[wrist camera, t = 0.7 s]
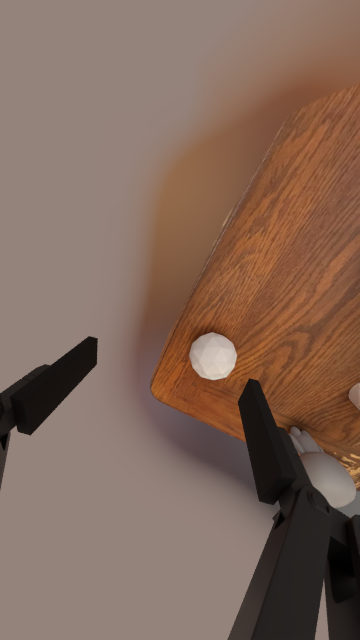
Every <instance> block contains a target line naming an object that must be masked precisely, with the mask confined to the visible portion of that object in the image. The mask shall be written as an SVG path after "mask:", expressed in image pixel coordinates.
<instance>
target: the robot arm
mask: <svg viewBox="0 0 360 640" xmlns="http://www.w3.org/2000/svg"><path fill="white" fill-rule="evenodd" d="M97 340H98V339H97V338H94V337H90V336H89V337H87V338H86V339H85V340H84V341H82V342H81V343H80V344H78V345H77V346H76V347H74V348H73V349H72V350H70V351H69V352H68V353H66V354H65V355H64V356H62V357H61V358H60V359H58V360H57V361H56V362H55V363H53V364H52V365H51V366H50V365H46V364H45V365H42V366H40V367H37V368H36V369H34V370H33V371H31V372H30V373H28V375H26V376H24V377H23V378H22V379H20V380H18V381H17V382H16V383H14V384H13V385H11V386H10V387H9V388H7V389H6V390H5V391H3V392H2V393H0V489H1V483H2V478H3V472H4V467H5V462H6V456H7V450H8V446H9V440H10V430H11V429H13V428H14V427H15V426H17V430H18V432H20V433H24V434H28V435H31V434H32V433H33V432H34V431H35V430H36V429H37V428H38V427H39V426H40V425H41V424H42V423H43V421H44V420H45V419H46V418H47V417H48V416H49V415H50V414H51V413H52V412H53V411H54V410H55V408H57V406H58V405H59V404H60V403H61V402H62V401H63V400H64V399H65V398H66V397H67V396H68V395H69V393H70V392H71V391H72V390H73V389H74V388H75V387H76V386H77V385H78V384H79V383H80V382H81V381H82V380H83V378H84V377H85V376H86V375H87V374H88V373H89V372H90V371H91V370H92V369H93V368H94V367H95V366H96V364H97ZM238 405H239V410H240V415H241V419H242V424H243V429H244V433H245V438H246V442H247V447H248V451H249V456H250V461H251V466H252V470H253V475H254V480H255V484H256V489H257V494H258V498H259V501H261V502H264V503H267V504H271V505H274V504H275V503H276V501H277V500H278V501H279V504H280V508H281V509H280V510H279V511H278V513H277V514H276V515H275V516H274V517H273V520H274V521H275V522H274V524H273V527H272V529H271V532H270V534H269V537H268V539H267V542H266V544H265V547H264V549H263V552H262V554H261V557H260V559H259V562H258V565H257V567H256V569H255V572H254V574H253V577H252V580H251V582H250V585H249V587H248V590H247V592H246V595H245V597H244V600H243V602H242V605H241V607H240V610H239V612H238V615H237V617H236V620H235V622H234V625H233V627H232V630H231V633H230V635H229V637H228V640H315V632H316V626H317V620H318V613H319V607H320V600H321V593H322V587H323V580H324V582H325V595H326V607H327V620H328V632H329V640H360V515H354V516H353V517H352V518H349V517H348V516H346V515H345V514H343V513H341V512H340V511H338V510H337V509H335V508H333V507H332V506H331V505H330V504H329V502H328V501H327V499H326V498H325V496H324V495H323V494H322V493H321V492H320V491H319V490H318V489H316V488H315V487H313V485H312V483H311V480H310V478H309V476H308V474H307V472H306V470H305V467H304V465H303V463H302V461H301V459H300V456H299V455H298V452H297V450H296V448H295V445H294V443H293V441H292V439H291V437H290V435H289V434H288V433H287V432H286V430H285V429H284V428H280V427H277V425H276V423H275V420H274V418H273V415H272V413H271V410H270V408H269V406H268V403H267V401H266V398H265V396H264V393H263V391H262V388H261V386H260V383H259V381H257V380H254V379H250V378H249V380H248V382H247V384H246V386H245V388H244V390H243V392H242V394H241V397H240V399H239V401H238Z"/></svg>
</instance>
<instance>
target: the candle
mask: <svg viewBox="0 0 360 640" xmlns="http://www.w3.org/2000/svg"><path fill="white" fill-rule="evenodd" d="M348 396H349V399H350V400H351V402H352V403H353V404H354V405H355V406H356V407H357V408H358V409H359V410H360V382H359V383H357V384H356V385H354V386H353V387H352V388H351V389H350V391H349V395H348Z"/></svg>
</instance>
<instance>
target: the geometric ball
mask: <svg viewBox="0 0 360 640" xmlns="http://www.w3.org/2000/svg"><path fill="white" fill-rule="evenodd" d="M189 357H190V360H191V363H192V366H193V368H194V370H195V371H196V372H197V373H198V374H199V375H200V376H201V377H203V378H207V379H211V380H217V379H221V378H226V377H227V376H228V374H229V373H230V372H231V371H232V370H233V369H234V366H235V362H236V358H237V354H236V351H235V348H234V345H233V343H232V342H231V341H229V340H228V339H227V338H226V337H224V336H223V335H219V334H216V333H213V332H211V333H208V334H205V335H202V336H200V337H199V338H198V339H197V340H196V341H194V342H193V343H192V346H191V350H190V354H189Z"/></svg>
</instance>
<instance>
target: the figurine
mask: <svg viewBox="0 0 360 640" xmlns="http://www.w3.org/2000/svg"><path fill="white" fill-rule="evenodd" d="M290 431H291V433H290V434H289V435H290V437H291V439H292V441H293V443H294V445H295V448H296V450H297V451H298V453H299V454H300V455H301V456H300V459H301V461H302V463H303V465H304V467H305V470H306V472H307V474H308V476H309V478H310V480H311V483H312V485H313V487H315V488H316V489H318V490H319V491H320V492H321V493H322V494H323V495H324V496H325V498H326V499H327V501H328V502H329V504H330V505H331V506H332V507H333V508H337V507H342V506H345V505H347V504H349V503H351V502H352V501H353V499H354V498H355V496H356V487H355V484H354V481H353V479H352V477H351V476H350V474H349V473H348V471H347V470H346V469H345V467H344V466H343V465H342V464H341V463H340V462H339V461H337V460H336V459H335V458H333V457H332V456H330V455H328V454H325V453H324V451H323V450H322V448H321V447H320V445H317V444H316V442H315V441H314V440H313V439H312V438H311V436H310V434H309V433H308V432H306V431H304V430H302V431H301V432H300V430H299V429H298V428H297V427H295V426H292V427H291V429H290ZM291 434H292V435H291Z"/></svg>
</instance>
